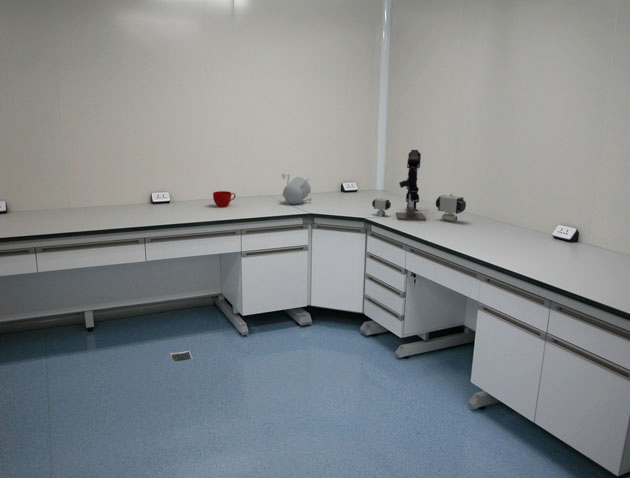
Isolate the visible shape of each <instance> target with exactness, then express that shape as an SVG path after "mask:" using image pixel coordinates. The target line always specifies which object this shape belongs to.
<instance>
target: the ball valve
mask: <svg viewBox="0 0 630 478" xmlns="http://www.w3.org/2000/svg"><path fill="white" fill-rule="evenodd" d="M466 205H467V203H466V200H465V199H464V197H461V196H455V195H453V194H452V193H451V194H449V195H447V194H443V195H440V196H438V197H437V198H436V200H435V206H436V208H437V211H439V212H443V213H444V214H442V215H441V219H442V220H443V221H446V222H450V221H451V223H456V222H457V221H458V214H461V213H463V212H464V211H465V210H466V207H467V206H466ZM455 214H457V215H455Z"/></svg>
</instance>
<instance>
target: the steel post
mask: <svg viewBox="0 0 630 478" xmlns="http://www.w3.org/2000/svg"><path fill="white" fill-rule="evenodd" d="M408 208H414V200H413V201H411V195H410V194H409V206H408Z"/></svg>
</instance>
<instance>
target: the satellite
mask: <svg viewBox="0 0 630 478" xmlns="http://www.w3.org/2000/svg"><path fill="white" fill-rule="evenodd" d="M307 176H308V177H307V178H306V179H305V178H303V177H301V176H296V177H295V178H293V179H292V180H291V181H290V174H288V175H287V174H286V175H285V173H282V174H281V177H282V179H283V180H285V179H286V177H287V182H286V186H284V188H283V192H282V196H283V197H284V200H285V201H286V202H287V203H289V204H291V205H298V204H300V203H303V202H307V201H309V203H308V204H309V205H310V204H311V201H312V197H310V198H307V197H308V196H309V194H310V193H311V186H310V184H309V182H310V183H311V182H312V180H310V178H309V177H310V176H309V175H307ZM289 181H290V182H289ZM306 198H307V199H306Z"/></svg>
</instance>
